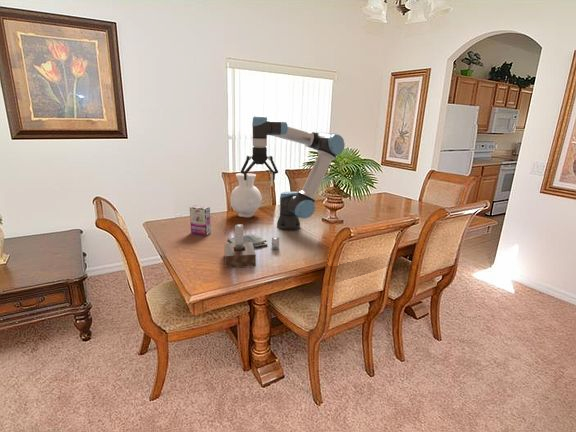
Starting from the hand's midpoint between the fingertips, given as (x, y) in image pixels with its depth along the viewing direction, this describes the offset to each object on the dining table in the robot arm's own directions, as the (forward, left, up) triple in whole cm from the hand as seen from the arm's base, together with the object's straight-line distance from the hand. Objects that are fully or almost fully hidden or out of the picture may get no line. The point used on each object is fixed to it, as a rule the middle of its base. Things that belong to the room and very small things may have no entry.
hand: (259, 186), depth 182 cm
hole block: (+13, +26, -32) cm, 43 cm away
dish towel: (+7, +4, -32) cm, 33 cm away
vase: (+3, -49, -32) cm, 59 cm away
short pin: (-7, +14, -32) cm, 35 cm away
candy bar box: (+33, -16, -32) cm, 49 cm away
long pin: (+13, +26, -32) cm, 43 cm away
